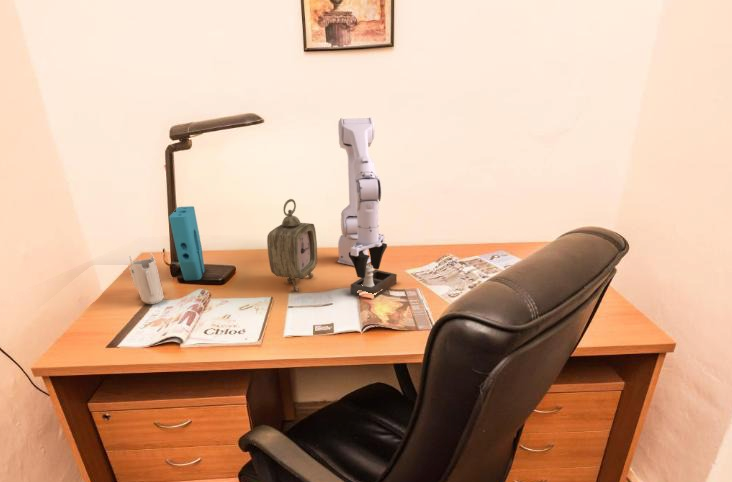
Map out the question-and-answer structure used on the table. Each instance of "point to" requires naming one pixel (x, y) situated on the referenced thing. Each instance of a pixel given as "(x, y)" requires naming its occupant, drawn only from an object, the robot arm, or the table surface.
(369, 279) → the rook chess piece
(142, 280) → the cable organizer
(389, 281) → the rack
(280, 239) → the tabletop clock
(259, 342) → the table surface
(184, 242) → the block
